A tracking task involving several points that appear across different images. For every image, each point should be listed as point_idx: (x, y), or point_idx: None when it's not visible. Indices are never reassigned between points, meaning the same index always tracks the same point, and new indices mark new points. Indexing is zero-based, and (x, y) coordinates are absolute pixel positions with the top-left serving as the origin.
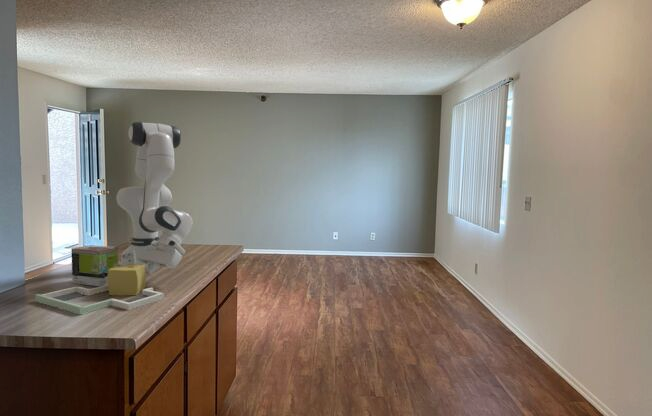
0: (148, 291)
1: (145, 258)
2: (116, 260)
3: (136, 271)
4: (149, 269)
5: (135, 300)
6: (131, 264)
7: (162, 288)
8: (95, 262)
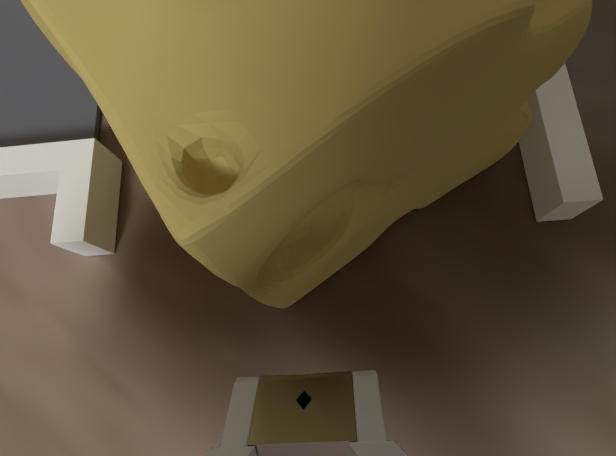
0: (7, 147)
1: None
2: None
3: None
4: (265, 419)
5: (43, 49)
6: (411, 19)
7: (121, 419)
8: None
